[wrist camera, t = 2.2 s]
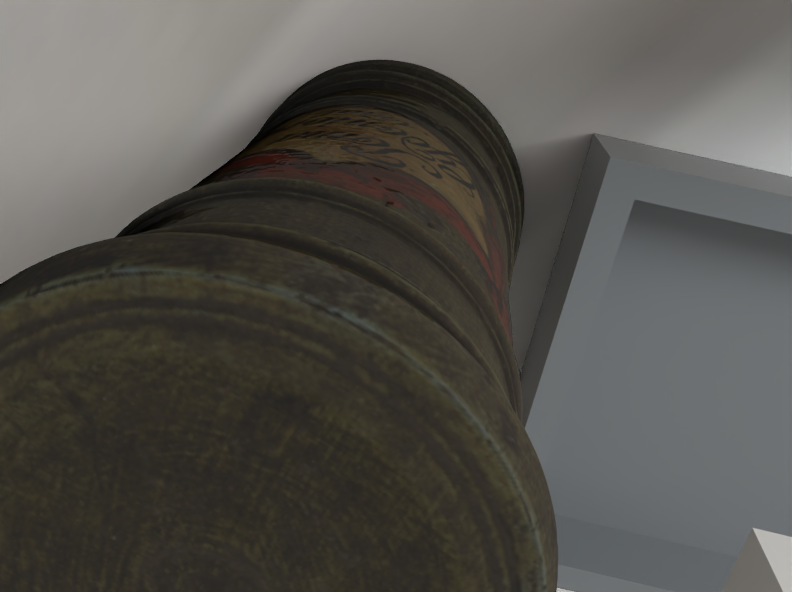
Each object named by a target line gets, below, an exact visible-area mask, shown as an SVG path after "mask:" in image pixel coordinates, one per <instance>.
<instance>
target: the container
mask: <svg viewBox="0 0 792 592" xmlns="http://www.w3.org/2000/svg"><path fill="white" fill-rule="evenodd" d="M523 217H524V192H523V185H522V178H521V173H520V169H519V166H518V163H517V160H516V157H515V154H514V152H513V149H512V147H511V145H510V142H509V140H508V138H507V136H506V135H505V133H504V131H503V129H502V128H501V126H500V125H499V123H498V122H497V120H496V119H495V118H494V116H493V115H492V114H491V113H490V112H489V110H488V109H487V108H486V107H485V106H484V105H483V104H482V103H481V102H480V101H479V100H478V99H477V98H476V97H475V96H474V95H473V94H472V93H470V92H469V91H468V90H466V89H465V88H464V87H462V86H461V85H460V84H458V83H457V82H455V81H454V80H452V79H450V78H448V77H446V76H444V75H442V74H440V73H438V72H436V71H433V70H431V69H428V68H426V67H423V66H419V65H415V64H411V63H406V62H400V61H393V60H368V61H360V62H354V63H349V64H345V65H342V66H339V67H336V68H333V69H331V70H328V71H326V72H324V73H322V74H320V75H318V76H316V77H314V78H313V79H311V80H310V81H308V82H307V83H305V84H304V85H302V86H301V87H300V88H298V89H297V90H296V91H295V92H294V93H293V94H292V95H290V96H289V97H288V98H287V99H286V101H285V102H284V103H283V104H282V105H281V106H280V107H279V108H277V109H276V110H275V111H274V113H273V114H272V115H271V116H270V117H269V119H268V120H267V121H266V123H265V124H264V126H263V127H262V128H261V130H260V131H259V133H258V134H257V135H256V136H255V137H254V138H253V139H252V141H251V142H250V143H249V144H248V145H247V147H246V148H245V149H243V150H242V151H241V152H240V153H239V154H237V155H236V156H235V157H233V158H232V159H231V160H229V161H228V162H227V163H226V164H224V165H223V166H221V167H220V168H219V169H217V170H216V171H214V172H213V173H212V174H210V175H209V176H207V177H206V178H205V179H203V180H202V181H201V182H199V183H198V184H197V185H195V186H194V187H193V188H191V189H190V190H189V191H186V192H183V193H181V194H179V195H176V196H174V197H172V198H170V199H168V200H166V201H164V202H162V203H160V204H158V205H156V206H154V207H153V208H151V209H149V210H148V211H146V212H145V213H143V214H142V215H140V216H139V217H137V218H136V219H135V220H133V221H132V222H131V223H130V224H129V225H128V226H127V227H125V228H124V229H123V230H122V231H121V232H120V233H119V234H118V235H117V236H116V237H115V238H112V239H107V240H103V241H99V242H95V243H91V244H87V245H84V246H80V247H77V248H74V249H71V250H68V251H65V252H62V253H60V254H57V255H55V256H53V257H50V258H48V259H46V260H44V261H41V262H39V263H37V264H35V265H33V266H31V267H29V268H27V269H25V270H23V271H21V272H20V273H18V274H16V275H15V276H13V277H12V278H10V279H8V280H7V281H5V282H3V283H2V284H0V592H556V589H557V580H558V543H557V528H556V521H555V514H554V509H553V504H552V500H551V496H550V492H549V488H548V485H547V481H546V478H545V475H544V472H543V469H542V466H541V463H540V461H539V458H538V456H537V454H536V451H535V449H534V447H533V445H532V443H531V441H530V439H529V437H528V434H527V432H526V430H525V428H524V426H523V424H522V391H521V382H520V376H519V371H518V366H517V363H516V359H515V355H514V352H513V344H512V326H511V316H510V308H509V301H508V289H509V286H510V282H511V277H512V270H513V265H514V262H515V259H516V256H517V252H518V248H519V242H520V236H521V231H522V225H523Z"/></svg>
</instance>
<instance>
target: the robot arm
mask: <svg viewBox="0 0 792 592" xmlns="http://www.w3.org/2000/svg"><path fill="white" fill-rule="evenodd" d="M721 592H792V537H789V536H785V535H781V534H777V533H773V532H768V531H764V530H760V529H756V528H752V530H751V532H750V534H749V536H748V538H747V540H746V542H745V544H744V546H743V548H742V550H741V552H740V554H739V556H738V558H737V560H736V562H735V564H734V566H733V568H732V571H731V573H730V575H729V577H728V579H727V581H726V583H725V585H724V587H723V589H722V591H721Z"/></svg>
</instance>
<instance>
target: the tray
mask: <svg viewBox="0 0 792 592" xmlns="http://www.w3.org/2000/svg"><path fill="white" fill-rule="evenodd" d="M520 382H521V391H522V424H523V426H524V428H525V430H526V432H527V434H528V437H529V439H530V441H531V443H532V445H533V447H534V449H535V451H536V454H537V456H538V458H539V461H540V463H541V466H542V469H543V472H544V475H545V478H546V481H547V485H548V488H549V492H550V496H551V500H552V504H553V509H554V514H555V521H556V528H557V543H558V580H557V587H558V588H562V589H566V590H570V591H575V592H721V591H722V589H723V587H724V585H725V583H726V581H727V579H728V577H729V575H730V573H731V571H732V568H733V566H734V564H735V562H736V560H737V558H738V556H739V554H740V552H741V550H742V548H743V546H744V544H745V542H746V540H747V538H748V536H749V534H750V532H751V530H752V528H756V529H760V530H764V531H768V532H773V533H777V534H781V535H785V536H789V537H792V177H789V176H785V175H780V174H776V173H771V172H767V171H762V170H758V169H753V168H749V167H744V166H739V165H735V164H730V163H726V162H721V161H717V160H712V159H708V158H703V157H699V156H694V155H689V154H685V153H680V152H676V151H671V150H667V149H662V148H658V147H653V146H649V145H644V144H639V143H635V142H630V141H626V140H621V139H617V138H612V137H608V136H603V135H599V134H593V138H592V141H591V144H590V148H589V151H588V154H587V158H586V161H585V164H584V167H583V171H582V174H581V177H580V181H579V184H578V187H577V191H576V194H575V197H574V200H573V204H572V207H571V210H570V214H569V217H568V220H567V224H566V227H565V230H564V233H563V237H562V240H561V243H560V247H559V250H558V253H557V257H556V260H555V263H554V266H553V270H552V273H551V276H550V280H549V283H548V286H547V290H546V293H545V296H544V300H543V303H542V306H541V309H540V313H539V316H538V319H537V323H536V326H535V329H534V333H533V336H532V339H531V342H530V346H529V349H528V352H527V356H526V359H525V362H524V366H523V369H522V372H521V375H520Z"/></svg>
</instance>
